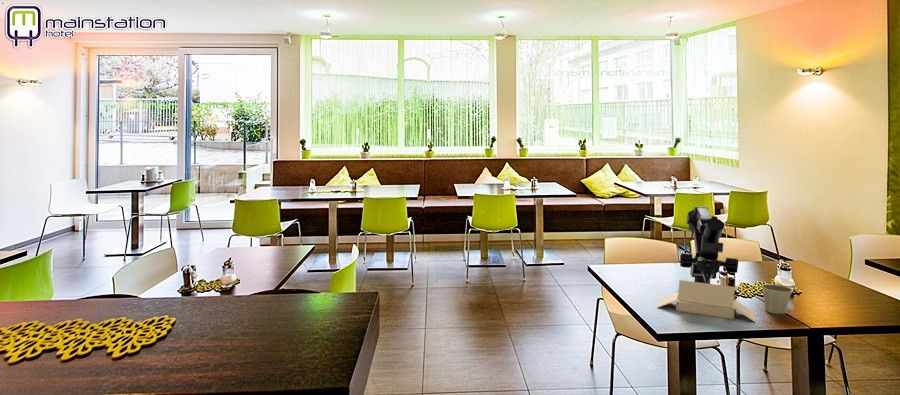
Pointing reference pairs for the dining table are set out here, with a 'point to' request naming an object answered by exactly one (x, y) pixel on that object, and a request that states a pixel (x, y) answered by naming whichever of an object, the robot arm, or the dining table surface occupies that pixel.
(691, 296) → the flap
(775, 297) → the flower pot
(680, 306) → the carton
